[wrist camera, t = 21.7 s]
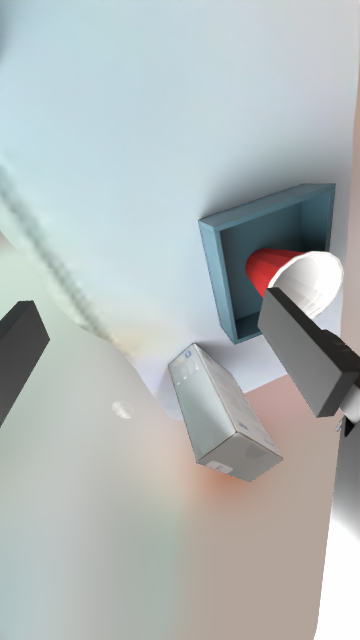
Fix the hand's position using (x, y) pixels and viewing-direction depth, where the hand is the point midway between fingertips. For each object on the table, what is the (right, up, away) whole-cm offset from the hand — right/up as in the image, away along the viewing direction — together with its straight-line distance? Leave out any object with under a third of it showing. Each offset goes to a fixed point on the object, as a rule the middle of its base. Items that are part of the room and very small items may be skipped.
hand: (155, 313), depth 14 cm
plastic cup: (+15, +9, +27) cm, 32 cm away
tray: (+15, +10, +27) cm, 33 cm away
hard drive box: (+6, -11, +38) cm, 40 cm away
